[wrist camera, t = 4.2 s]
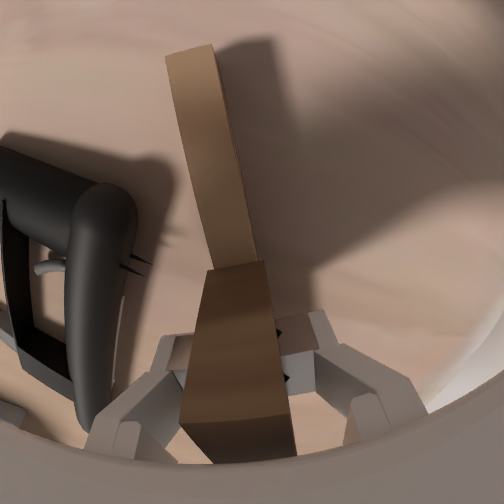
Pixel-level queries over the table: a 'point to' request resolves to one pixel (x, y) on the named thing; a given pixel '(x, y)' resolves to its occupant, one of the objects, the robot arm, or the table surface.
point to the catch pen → (12, 414)
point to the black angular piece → (66, 275)
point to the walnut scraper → (227, 288)
